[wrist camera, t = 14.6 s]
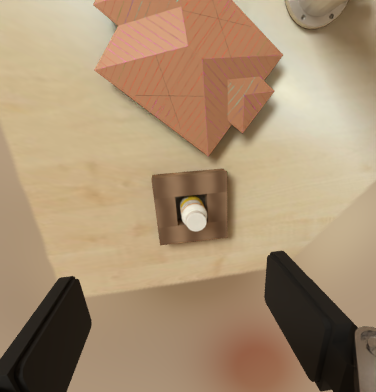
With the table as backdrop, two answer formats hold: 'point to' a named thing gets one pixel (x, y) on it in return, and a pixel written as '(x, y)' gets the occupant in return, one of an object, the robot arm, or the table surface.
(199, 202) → the supplement bottle
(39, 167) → the table surface
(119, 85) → the house
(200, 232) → the holder
